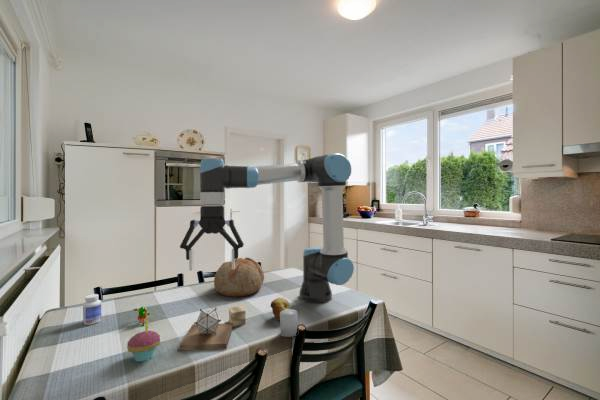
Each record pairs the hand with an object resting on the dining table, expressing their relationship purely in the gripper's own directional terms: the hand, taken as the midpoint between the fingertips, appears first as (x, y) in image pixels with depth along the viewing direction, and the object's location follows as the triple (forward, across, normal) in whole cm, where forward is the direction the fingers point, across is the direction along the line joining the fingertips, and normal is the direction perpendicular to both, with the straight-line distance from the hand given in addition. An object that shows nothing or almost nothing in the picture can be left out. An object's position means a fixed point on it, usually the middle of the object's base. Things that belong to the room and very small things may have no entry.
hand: (212, 269), depth 96 cm
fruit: (+23, -23, -12) cm, 34 cm away
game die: (+21, +1, +1) cm, 21 cm away
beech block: (+23, -7, -10) cm, 26 cm away
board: (+23, +1, +1) cm, 23 cm away
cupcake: (+23, +17, +11) cm, 31 cm away
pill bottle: (+22, +46, -14) cm, 53 cm away
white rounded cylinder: (+23, -26, 0) cm, 34 cm away
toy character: (+23, +27, -11) cm, 37 cm away
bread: (+23, -4, -48) cm, 54 cm away
